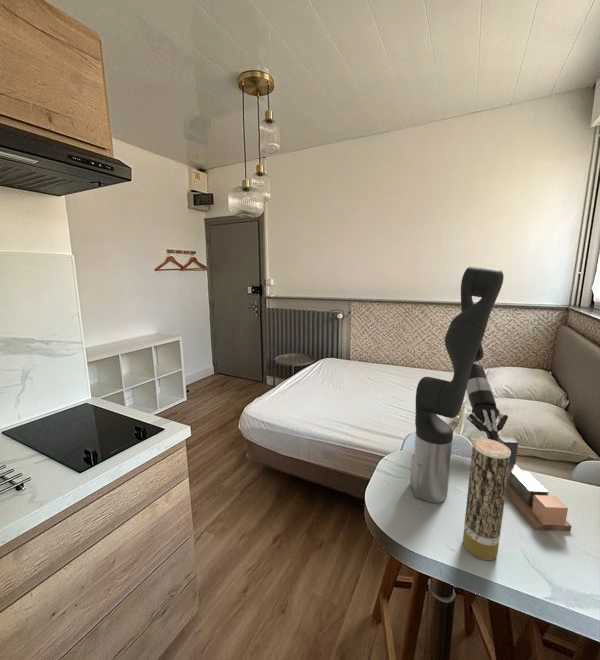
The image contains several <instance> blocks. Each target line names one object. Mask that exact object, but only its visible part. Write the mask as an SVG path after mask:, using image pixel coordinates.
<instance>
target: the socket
mask: <svg viewBox="0 0 600 660" xmlns="http://www.w3.org/2000/svg"><path fill="white" fill-rule="evenodd" d="M568 511H569V507H567V505H566V504H565V503H564V502H562V501H561V499H559V498H558V496H556V495H548V496H544V495H534V501H533V508H532V513H533V514H534V515H535V516H536V517H537V518H538V519H539V521H540V522H541V523H542V524H543V525H562V526H565V523H566V521H567V515H568Z"/></svg>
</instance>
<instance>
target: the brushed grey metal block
mask: <svg viewBox="0 0 600 660" xmlns="http://www.w3.org/2000/svg"><path fill="white" fill-rule="evenodd" d="M498 442H500V443H502V444H504V445H506V446H507V447H508V448H509V449H510V451H511V456H510V464H509V471H508V479H509V480H510V474H511V471H519V472H523V470H521V469H520V468H519V467H518V466H517V465H516V461H517V454H518V447H519V442H518V441H517V440H516V439H515V438H514V437H512V436H499V437H498ZM534 495H544V496H546V495H545V494H544V493H531V499H530V503H531V504H532V505H533V501H534Z"/></svg>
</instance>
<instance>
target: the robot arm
mask: <svg viewBox="0 0 600 660" xmlns="http://www.w3.org/2000/svg"><path fill="white" fill-rule="evenodd" d="M503 284H504V272H503V271H502V270H500V269H497V268H490V267H489V268H488V267H481V266H469V267H467V268H466V269H465V271H464V272H463V274H462V278H461V283H460V313H459V314H457V315H456V316H455V317H454V318H452V320H451V322H450V324H449V326H448V329H447V331H446V334H445V336H444V346H445V349H446V352H447V354H448V357H449V360H450V361H451V365H452V367H453V377H452V379H451V380H450V381H449V380H445V379H440V378H436V377H433V376H424V377H422V378H421V379H420V380H419V382H418V384H417V386H416V390H415V391H416V392H415V418H414V420H415V422H414V424H415V440H414V454H411V462H410V463H411V464H410V476H409V485H410V488H411V490H412V491H413V494H414V496H415V498H416V499H421V500H423V501H425V502H429V503H432V504H433V503H437V504H438V503H442V502H444V501H446V500H447V499H448V498H447V497H448V491H449V480H450V470H451V469H450V468H451V457H452V447H453V446H452V445H453V436H454V433H453V432H454V431H453V428H452V426H451V425H450V424H448V423H447V422H446V421H444V420H443V419H442V418H440V417H445V418H448V419H454V418H456V417H457V416H458V415H459V413H460V411H461V409H462V406H463V403H464V399H465V395H466V394H467V397H468V400H469V403H470V407H471V413H470V414H469V415H467V416H466V419H467V420H468V421H469V422H470V423H471V424H472V425H473V426H474V427H475V428H476V429H477V430H478V431H480V432H484V433H485V434H486V436H487V439H491V440H494V441H497V442H498V437H500V436H499V433H498V432H501V431H502V430H503V428H504V426H505V425H506V422H507V421H508V419H509V416H508V415H507V414H503V413H501V412H500V410H499V409H498V407H497V403H496V400H495V396H494V394H493V391H492V388H491V385H490V383H489V381H488V378H487V375H486V372H485V369H484V367H483V366H482V365H480V364H477V363H475V362H480V361H481V360H482V359H483V358H484V349H483V345H482V342H483V338H484V335H485V332H486V330H487V325H488V322H489V318H490V316H491V312H492V311H493V308H494V305H495V303H496V301H497V299H498V296H499V293H500V292H501V289H502V287H503ZM473 297H477V298H480V299H479V300H478V302H476V303H475V304H474V301H473V300H474V299H473ZM497 420H498V422H497Z"/></svg>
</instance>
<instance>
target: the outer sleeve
mask: <svg viewBox="0 0 600 660" xmlns="http://www.w3.org/2000/svg"><path fill="white" fill-rule="evenodd" d="M509 486H510V487H511V488H512V489H513V490H514V491H515V493H516V494H517V495H518V496H519V497H520V498H521V499H522V500H523V502H524V503H525V504H526V505H527V506H533V505H532V504H531V503H530V499H531V493H544V494H545V495H546V496H549V490H548V489H547V488H546V487H544V486H543V485H542V483H540V481H538V480H537V479H536V478H535V477H534V476H533V475H532V474H531V473H530V472H529V471H522V472H519V471H511V474H510V481H509Z"/></svg>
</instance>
